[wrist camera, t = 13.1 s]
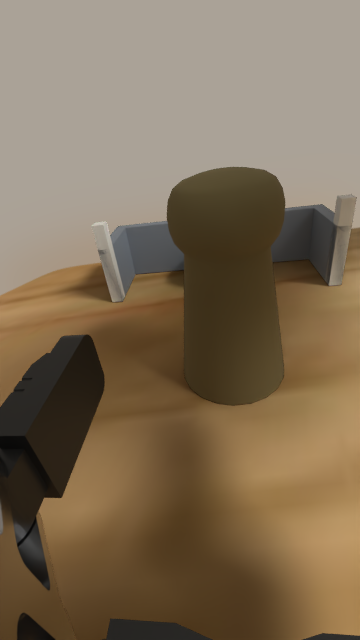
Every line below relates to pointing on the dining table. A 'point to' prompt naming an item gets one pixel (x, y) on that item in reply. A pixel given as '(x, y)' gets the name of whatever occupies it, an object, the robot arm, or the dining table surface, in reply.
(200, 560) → the dining table surface
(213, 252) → the cork
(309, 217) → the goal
